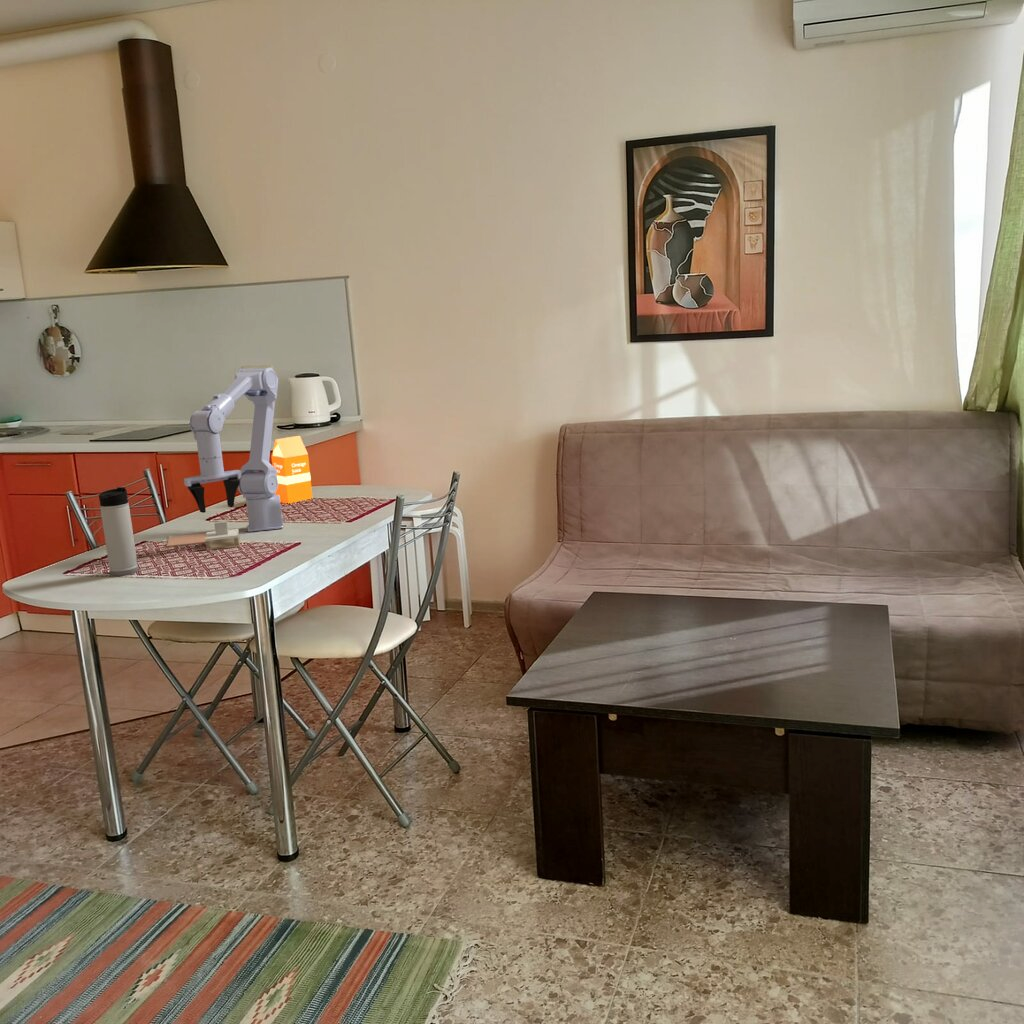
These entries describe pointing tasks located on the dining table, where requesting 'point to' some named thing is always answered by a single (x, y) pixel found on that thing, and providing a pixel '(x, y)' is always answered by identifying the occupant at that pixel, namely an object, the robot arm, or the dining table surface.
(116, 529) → the travel mug
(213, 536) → the lid
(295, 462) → the orange juice
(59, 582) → the dining table surface
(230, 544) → the box
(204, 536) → the mat
